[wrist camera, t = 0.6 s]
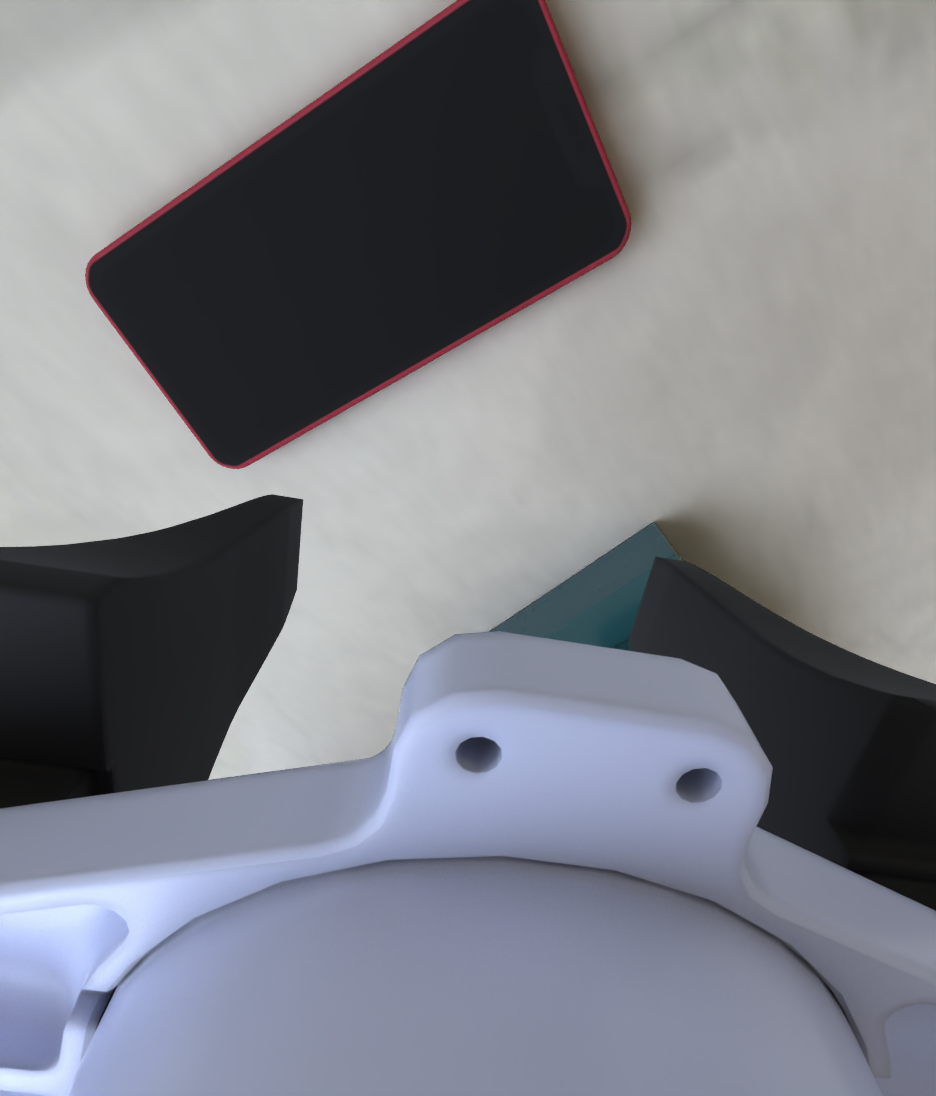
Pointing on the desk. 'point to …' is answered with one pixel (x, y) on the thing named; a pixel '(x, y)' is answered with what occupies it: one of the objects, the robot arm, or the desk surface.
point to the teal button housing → (597, 596)
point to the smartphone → (369, 232)
